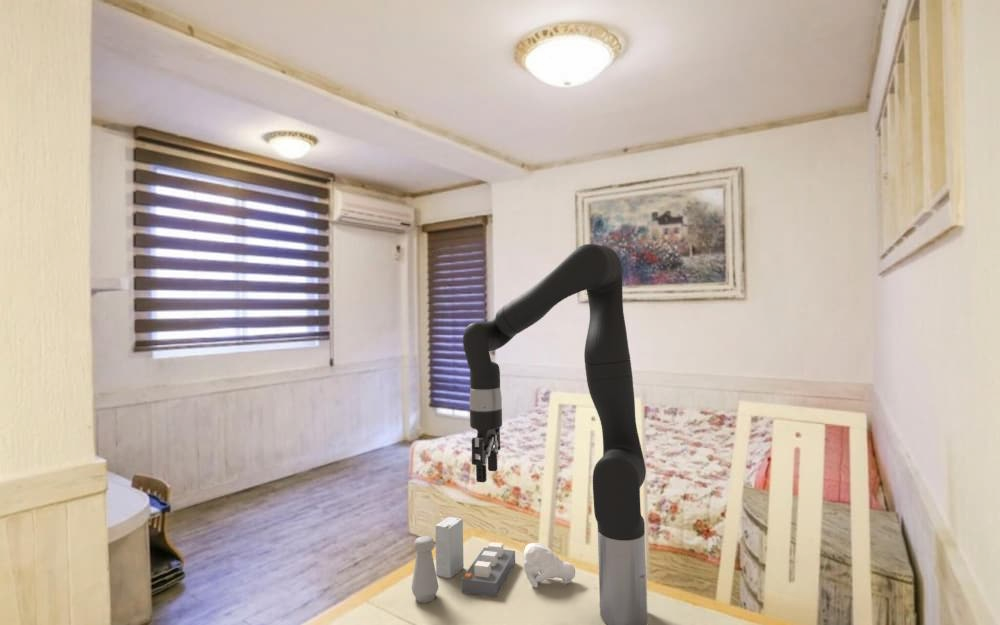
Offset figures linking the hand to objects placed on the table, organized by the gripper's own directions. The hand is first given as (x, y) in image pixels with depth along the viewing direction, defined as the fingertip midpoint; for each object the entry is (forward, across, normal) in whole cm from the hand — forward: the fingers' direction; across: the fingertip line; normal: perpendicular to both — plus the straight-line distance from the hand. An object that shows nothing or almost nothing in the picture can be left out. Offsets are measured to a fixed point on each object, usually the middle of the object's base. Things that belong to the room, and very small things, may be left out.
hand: (487, 476), depth 123 cm
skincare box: (+24, 0, +10) cm, 26 cm away
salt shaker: (+24, -12, +11) cm, 29 cm away
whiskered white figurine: (+24, +1, -14) cm, 28 cm away
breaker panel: (+24, 0, 0) cm, 24 cm away
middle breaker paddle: (+20, 0, 0) cm, 21 cm away
